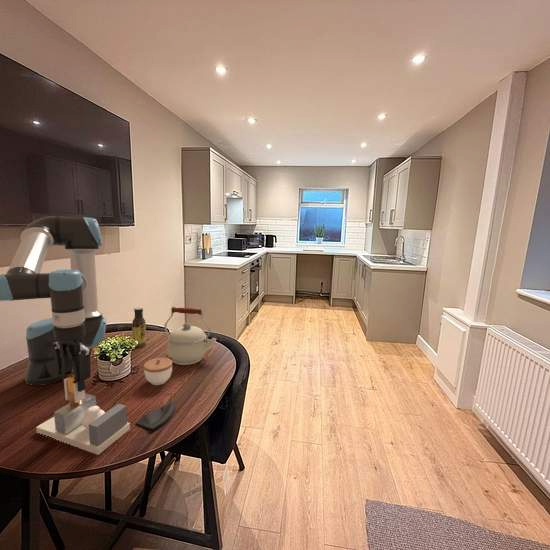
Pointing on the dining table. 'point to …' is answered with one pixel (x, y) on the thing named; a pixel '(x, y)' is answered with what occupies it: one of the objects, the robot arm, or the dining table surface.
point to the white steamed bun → (91, 415)
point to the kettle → (187, 340)
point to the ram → (72, 410)
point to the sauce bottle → (139, 327)
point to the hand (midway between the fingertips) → (75, 398)
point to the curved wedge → (157, 417)
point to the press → (92, 431)
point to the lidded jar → (158, 370)
